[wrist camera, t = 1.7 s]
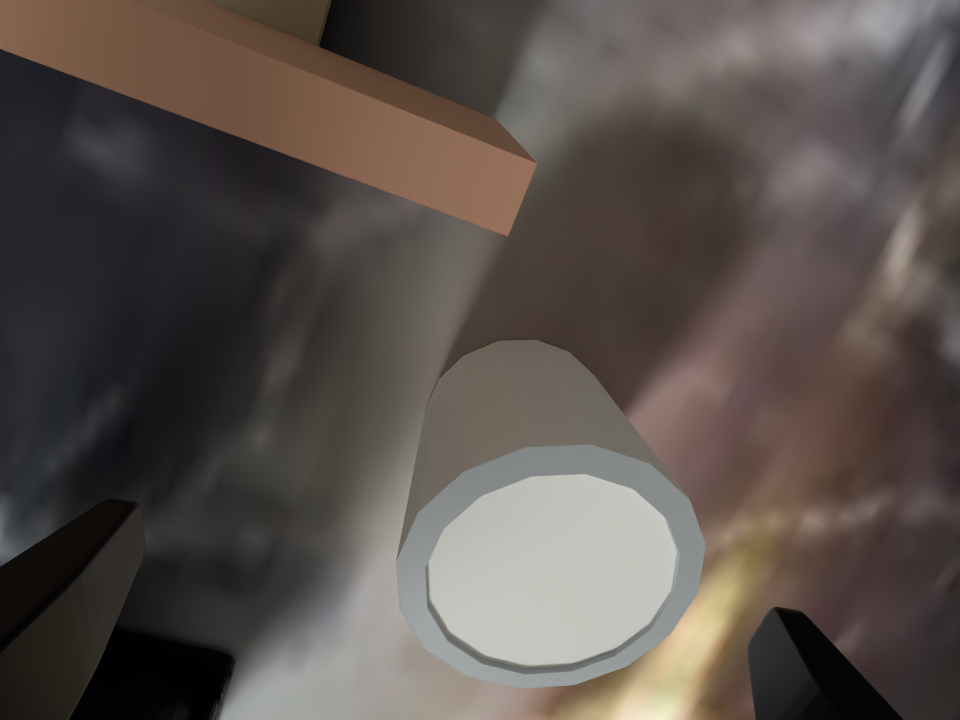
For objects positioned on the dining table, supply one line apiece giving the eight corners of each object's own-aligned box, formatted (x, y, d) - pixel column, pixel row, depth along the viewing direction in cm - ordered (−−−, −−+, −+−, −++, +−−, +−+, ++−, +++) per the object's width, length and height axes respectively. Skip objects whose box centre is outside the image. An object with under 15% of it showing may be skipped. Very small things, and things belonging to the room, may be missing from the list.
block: (495, 118, 17) (537, 163, 11) (477, 166, 17) (507, 236, 11) (158, -19, 15) (-35, -64, 9) (148, 38, 16) (-43, 33, 9)
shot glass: (358, 401, 21) (328, 558, 14) (551, 273, 19) (612, 384, 13) (485, 546, 23) (507, 733, 17) (662, 442, 22) (758, 602, 16)
